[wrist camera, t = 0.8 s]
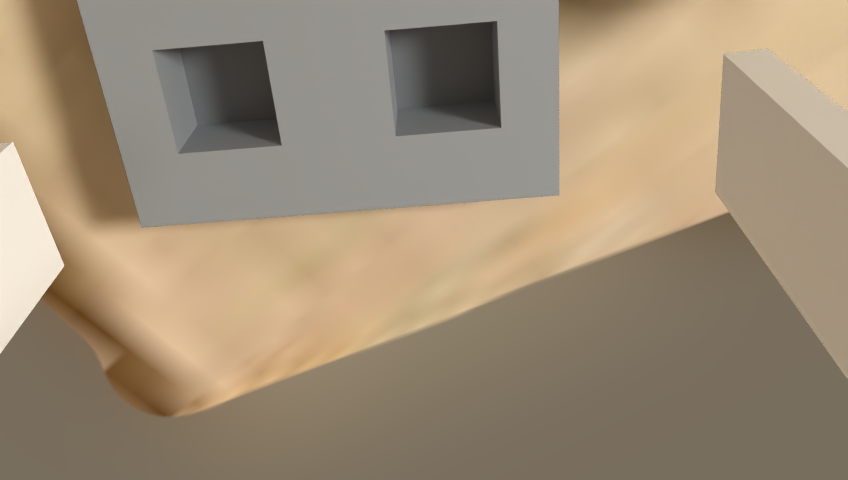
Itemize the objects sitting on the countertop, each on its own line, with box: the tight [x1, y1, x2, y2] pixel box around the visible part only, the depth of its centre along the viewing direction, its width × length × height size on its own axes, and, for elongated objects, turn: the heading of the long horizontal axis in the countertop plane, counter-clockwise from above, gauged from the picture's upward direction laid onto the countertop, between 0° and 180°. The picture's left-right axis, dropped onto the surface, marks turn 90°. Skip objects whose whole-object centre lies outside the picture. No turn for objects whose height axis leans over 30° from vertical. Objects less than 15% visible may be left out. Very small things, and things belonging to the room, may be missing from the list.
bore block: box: [77, 0, 559, 228], centre depth 37 cm, size 12×20×4 cm, turn 95°
